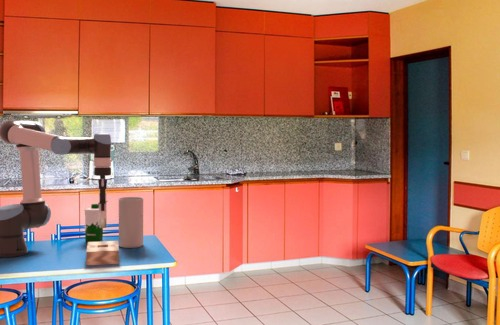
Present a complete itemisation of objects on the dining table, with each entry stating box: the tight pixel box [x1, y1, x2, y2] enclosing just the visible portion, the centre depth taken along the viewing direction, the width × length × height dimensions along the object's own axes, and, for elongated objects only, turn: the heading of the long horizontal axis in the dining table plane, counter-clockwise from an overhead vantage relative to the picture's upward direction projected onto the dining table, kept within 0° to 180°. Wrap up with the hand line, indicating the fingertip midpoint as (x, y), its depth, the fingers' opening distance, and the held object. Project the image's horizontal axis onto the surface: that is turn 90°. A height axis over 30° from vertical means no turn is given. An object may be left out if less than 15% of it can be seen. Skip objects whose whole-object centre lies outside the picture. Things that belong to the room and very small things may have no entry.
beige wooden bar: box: [98, 192, 107, 229], centre depth 234 cm, size 3×3×16 cm
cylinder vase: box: [118, 196, 144, 249], centre depth 263 cm, size 12×12×25 cm
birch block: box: [85, 240, 120, 266], centre depth 235 cm, size 14×22×6 cm, turn 16°
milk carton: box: [84, 203, 104, 243], centre depth 273 cm, size 9×9×20 cm
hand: (102, 217), depth 234 cm, fingers closed on beige wooden bar, 3 cm apart
